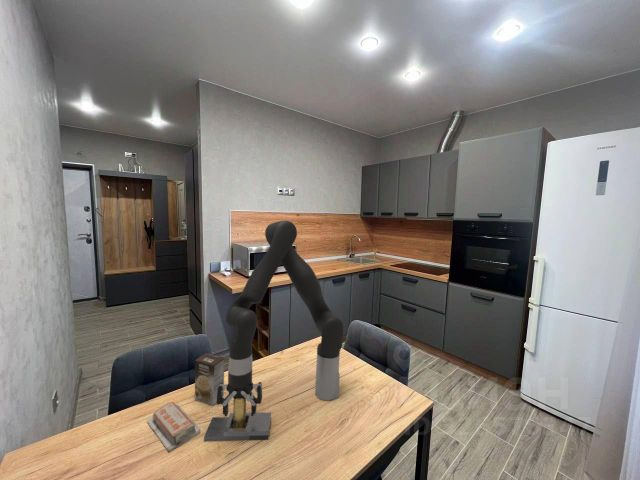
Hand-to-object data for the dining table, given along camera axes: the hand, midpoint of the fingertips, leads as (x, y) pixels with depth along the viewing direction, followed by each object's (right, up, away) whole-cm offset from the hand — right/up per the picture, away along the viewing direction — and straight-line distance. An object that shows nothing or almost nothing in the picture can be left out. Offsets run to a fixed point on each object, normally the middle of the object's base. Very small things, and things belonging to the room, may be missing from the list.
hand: (239, 414), depth 86 cm
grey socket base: (0, -6, 0) cm, 6 cm away
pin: (0, -6, +1) cm, 6 cm away
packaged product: (-22, -5, +1) cm, 23 cm away
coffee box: (-16, -4, +15) cm, 23 cm away
